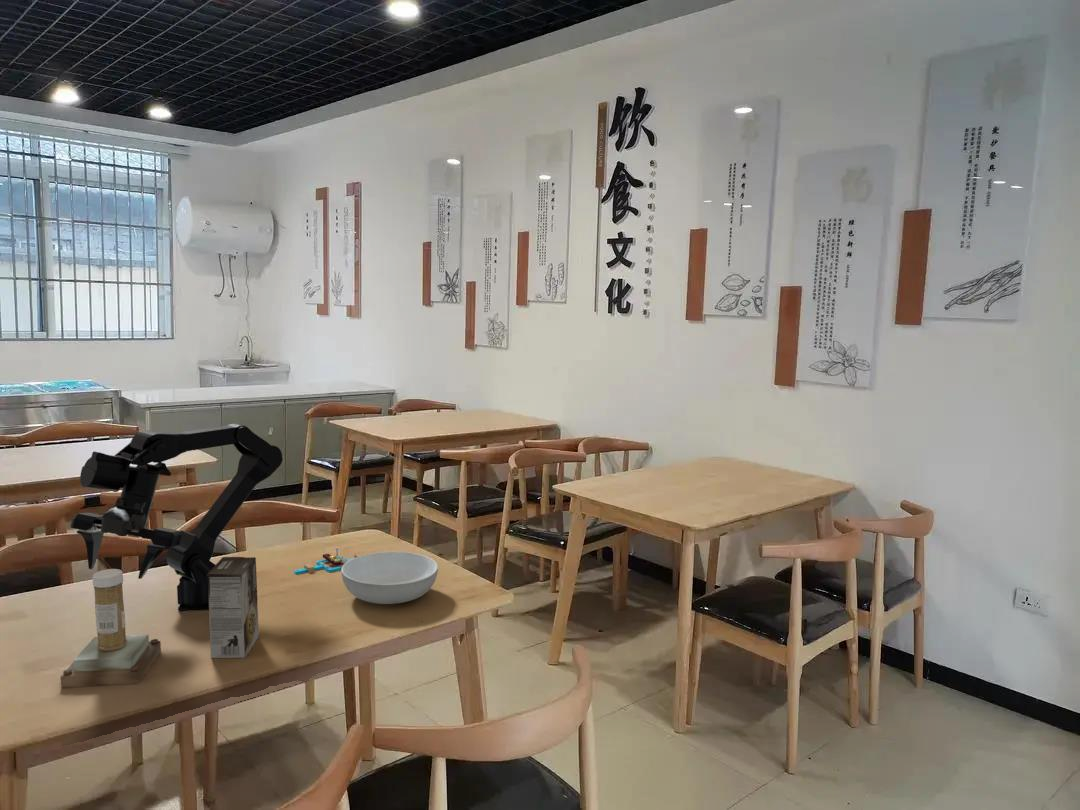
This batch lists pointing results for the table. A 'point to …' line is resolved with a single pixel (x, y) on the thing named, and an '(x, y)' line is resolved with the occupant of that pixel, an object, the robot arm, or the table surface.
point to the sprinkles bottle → (109, 609)
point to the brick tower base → (113, 674)
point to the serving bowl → (389, 576)
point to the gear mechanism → (323, 564)
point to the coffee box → (233, 607)
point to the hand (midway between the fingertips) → (115, 573)
